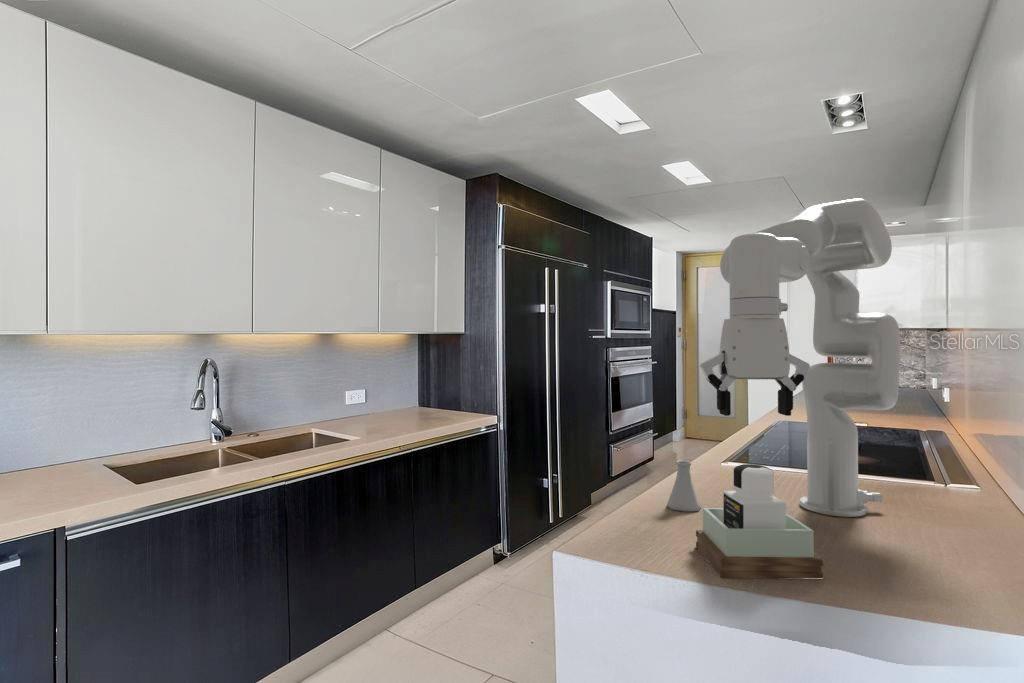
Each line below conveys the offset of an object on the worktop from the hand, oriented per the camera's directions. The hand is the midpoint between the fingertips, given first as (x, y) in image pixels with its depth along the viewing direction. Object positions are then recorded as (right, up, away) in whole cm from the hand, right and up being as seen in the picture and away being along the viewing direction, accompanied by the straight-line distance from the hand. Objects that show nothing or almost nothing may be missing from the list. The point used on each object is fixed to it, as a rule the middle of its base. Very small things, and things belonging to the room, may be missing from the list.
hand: (754, 414), depth 89 cm
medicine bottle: (0, -21, 0) cm, 21 cm away
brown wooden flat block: (0, -24, 0) cm, 24 cm away
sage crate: (0, -21, 0) cm, 21 cm away
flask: (-2, -25, +30) cm, 39 cm away
